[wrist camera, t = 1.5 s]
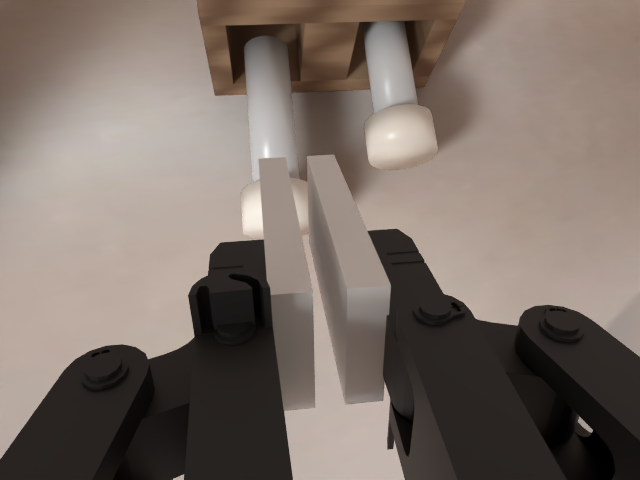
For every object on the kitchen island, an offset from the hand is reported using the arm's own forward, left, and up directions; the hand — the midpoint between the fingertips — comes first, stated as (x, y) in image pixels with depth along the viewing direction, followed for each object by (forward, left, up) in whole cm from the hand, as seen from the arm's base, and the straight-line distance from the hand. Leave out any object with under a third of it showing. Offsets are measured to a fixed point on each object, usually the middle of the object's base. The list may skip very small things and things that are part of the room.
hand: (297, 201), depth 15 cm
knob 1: (0, +11, -20) cm, 23 cm away
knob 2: (+9, +16, -20) cm, 26 cm away
